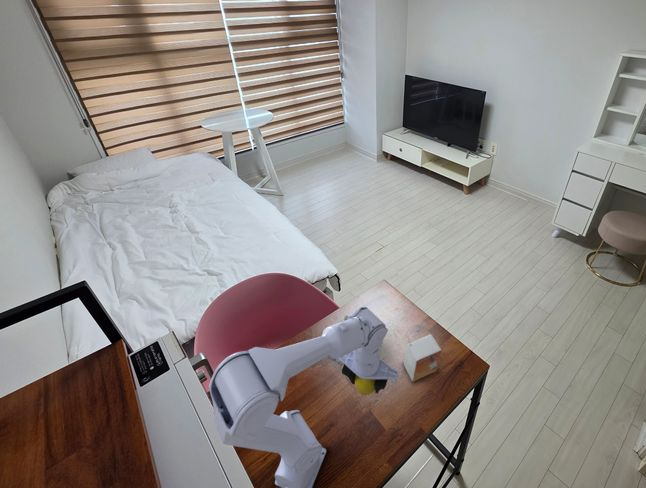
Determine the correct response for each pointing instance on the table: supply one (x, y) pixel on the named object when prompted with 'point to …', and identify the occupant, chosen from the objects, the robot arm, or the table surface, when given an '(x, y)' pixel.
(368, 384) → the lemon
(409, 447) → the table surface
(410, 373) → the white toy house
